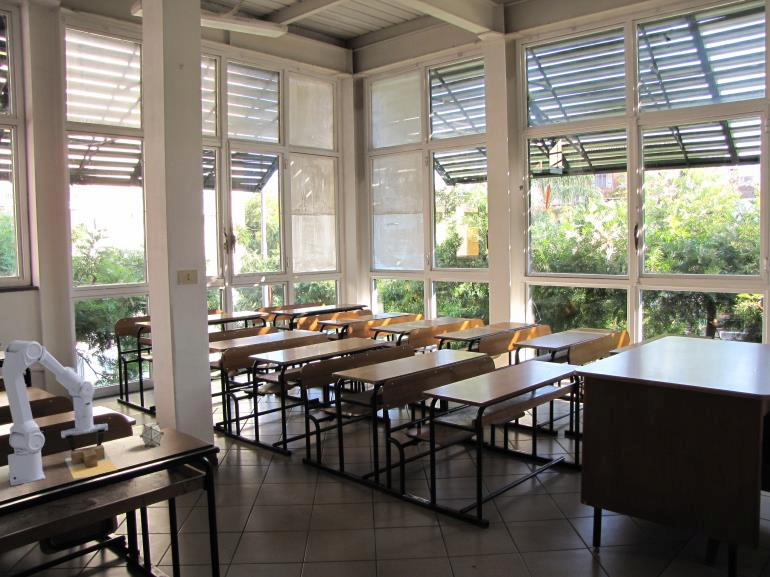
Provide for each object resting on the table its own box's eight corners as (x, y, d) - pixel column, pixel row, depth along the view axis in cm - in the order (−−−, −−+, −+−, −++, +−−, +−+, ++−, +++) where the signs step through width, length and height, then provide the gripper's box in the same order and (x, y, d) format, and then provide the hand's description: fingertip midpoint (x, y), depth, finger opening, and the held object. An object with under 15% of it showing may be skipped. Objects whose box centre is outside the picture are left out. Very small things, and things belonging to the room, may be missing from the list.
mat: (73, 479, 206) (73, 478, 206) (64, 459, 226) (64, 458, 226) (117, 470, 213) (117, 469, 213) (105, 451, 233) (105, 450, 233)
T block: (75, 470, 214) (74, 458, 213) (71, 462, 222) (70, 450, 222) (108, 464, 219) (107, 452, 219) (103, 456, 227) (102, 444, 227)
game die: (155, 456, 237) (153, 439, 230) (135, 448, 238) (132, 431, 232) (169, 438, 244) (168, 421, 237) (149, 430, 245) (148, 413, 239)
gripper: (61, 421, 218) (64, 461, 219) (108, 414, 225) (111, 452, 227) (59, 417, 224) (62, 456, 225) (104, 409, 231) (107, 447, 232)
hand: (86, 454), depth 226 cm, fingers open, 7 cm apart
